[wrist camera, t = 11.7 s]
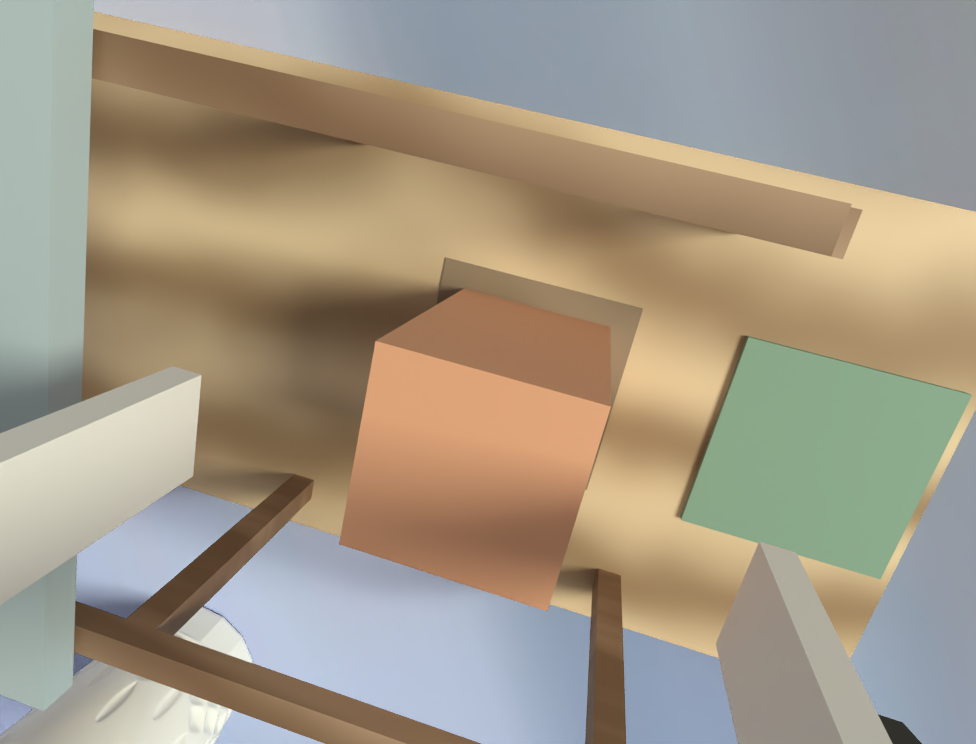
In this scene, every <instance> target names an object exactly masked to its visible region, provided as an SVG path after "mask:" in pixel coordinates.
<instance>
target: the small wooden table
mask: <svg viewBox="0 0 976 744" xmlns="http://www.w3.org/2000/svg"><path fill="white" fill-rule="evenodd" d="M464 288H465V289H469V290H473V291H476V292H480V293H484V294H488V295H491V296H495V297H499V298H503V299H507V300H510V301H514V302H518V303H522V304H525V305H529V306H533V307H537V308H541V309H544V310H548V311H552V312H556V313H559V314H563V315H567V316H571V317H575V318H578V319H582V320H586V321H590V322H593V323H597V324H601V325H605V326H609V327H610V342H611V408H610V412H609V415H608V418H607V421H606V424H605V428H604V431H603V434H602V437H601V441H600V444H599V447H598V450H597V453H596V457H595V460H594V463H593V466H592V470H591V473H590V476H589V479H588V482H587V486H586V489H585V492H584V495H583V499H582V502H581V505H580V508H579V511H578V515H577V518H576V521H575V524H574V527H573V531H572V534H571V537H570V540H569V544H568V547H567V550H566V553H565V556H564V560H563V563H562V566H561V569H560V573H559V576H558V579H557V582H556V585H555V589H554V592H553V595H552V598H551V602H550V604H552V605H555V606H558V607H561V608H564V609H567V610H570V611H573V612H576V613H580V614H583V615H586V616H589V617H591V628H590V650H589V673H588V695H587V718H586V740H585V744H626V725H625V692H624V660H623V628H626V629H630V630H633V631H636V632H639V633H642V634H645V635H648V636H651V637H654V638H658V639H661V640H664V641H667V642H670V643H673V644H676V645H679V646H683V647H686V648H689V649H692V650H695V651H698V652H701V653H704V654H708V655H711V656H714V657H717V658H719V656H718V652H717V647H716V642H717V640H718V637H719V635H720V633H721V630H722V628H723V625H724V623H725V621H726V618H727V616H728V614H729V611H730V609H731V607H732V604H733V602H734V600H735V597H736V595H737V593H738V590H739V588H740V586H741V583H742V581H743V579H744V576H745V574H746V571H747V569H748V567H749V564H750V562H751V560H752V557H753V555H754V553H755V550H756V548H757V546H758V543H756V542H753V541H749V540H746V539H742V538H739V537H736V536H732V535H729V534H726V533H722V532H719V531H716V530H712V529H709V528H705V527H702V526H699V525H695V524H692V523H689V522H685V521H682V520H681V518H680V516H681V513H682V511H683V508H684V505H685V503H686V500H687V497H688V494H689V492H690V489H691V486H692V484H693V481H694V478H695V475H696V473H697V470H698V467H699V465H700V462H701V459H702V456H703V454H704V451H705V448H706V446H707V443H708V440H709V437H710V435H711V432H712V429H713V427H714V424H715V421H716V418H717V416H718V413H719V410H720V408H721V405H722V402H723V399H724V397H725V394H726V391H727V389H728V386H729V383H730V380H731V378H732V375H733V372H734V370H735V367H736V364H737V361H738V359H739V356H740V353H741V351H742V348H743V345H744V342H745V340H746V337H747V336H750V337H754V338H758V339H762V340H766V341H770V342H774V343H777V344H781V345H785V346H789V347H793V348H797V349H801V350H804V351H808V352H812V353H816V354H820V355H824V356H828V357H831V358H835V359H839V360H843V361H847V362H851V363H855V364H858V365H862V366H866V367H870V368H874V369H878V370H881V371H885V372H889V373H893V374H897V375H901V376H905V377H908V378H912V379H916V380H920V381H924V382H928V383H932V384H935V385H939V386H943V387H947V388H951V389H955V390H959V391H962V392H966V393H969V394H971V395H972V397H971V399H970V401H969V403H968V405H967V407H966V409H965V411H964V413H963V415H962V417H961V419H960V421H959V423H958V425H957V427H956V429H955V431H954V433H953V435H952V437H951V439H950V441H949V443H948V445H947V447H946V449H945V451H944V453H943V455H942V457H941V459H940V461H939V463H938V465H937V467H936V469H935V471H934V473H933V475H932V477H931V479H930V481H929V483H928V485H927V487H926V489H925V491H924V493H923V495H922V497H921V499H920V501H919V503H918V505H917V507H916V509H915V511H914V513H913V515H912V517H911V519H910V521H909V523H908V525H907V527H906V529H905V531H904V533H903V535H902V537H901V539H900V541H899V543H898V545H897V547H896V549H895V551H894V553H893V555H892V557H891V559H890V561H889V563H888V565H887V567H886V569H885V571H884V573H883V575H882V577H881V579H877V578H874V577H870V576H867V575H864V574H860V573H857V572H854V571H850V570H847V569H843V568H840V567H837V566H833V565H830V564H827V563H823V562H820V561H817V560H813V559H810V558H806V557H803V556H800V555H798V557H799V559H800V561H801V563H802V565H803V567H804V569H805V571H806V573H807V575H808V577H809V579H810V581H811V583H812V585H813V587H814V589H815V591H816V593H817V595H818V597H819V599H820V601H821V603H822V605H823V607H824V609H825V611H826V613H827V615H828V617H829V619H830V621H831V623H832V625H833V627H834V629H835V631H836V633H837V635H838V637H839V638H840V640H841V642H842V644H843V646H844V648H845V650H846V652H847V654H848V656H849V658H851V656H852V654H853V652H854V650H855V648H856V646H857V644H858V642H859V640H860V638H861V636H862V634H863V632H864V630H865V628H866V626H867V624H868V622H869V620H870V618H871V616H872V614H873V612H874V610H875V608H876V606H877V604H878V602H879V600H880V598H881V596H882V594H883V592H884V590H885V588H886V586H887V584H888V582H889V580H890V578H891V576H892V574H893V572H894V570H895V568H896V566H897V564H898V562H899V560H900V558H901V556H902V554H903V553H904V551H905V549H906V547H907V545H908V543H909V541H910V539H911V537H912V535H913V533H914V531H915V529H916V527H917V525H918V523H919V521H920V519H921V517H922V515H923V513H924V511H925V509H926V507H927V505H928V503H929V501H930V499H931V497H932V495H933V493H934V491H935V489H936V487H937V485H938V483H939V481H940V479H941V477H942V475H943V473H944V471H945V469H946V467H947V465H948V463H949V461H950V459H951V457H952V455H953V453H954V451H955V449H956V447H957V445H958V443H959V441H960V439H961V437H962V435H963V433H964V431H965V429H966V427H967V425H968V423H969V421H970V419H971V417H972V415H973V413H974V411H975V409H976V212H973V211H969V210H965V209H960V208H956V207H951V206H947V205H943V204H938V203H934V202H929V201H925V200H921V199H916V198H912V197H907V196H903V195H899V194H894V193H890V192H885V191H881V190H877V189H872V188H868V187H863V186H859V185H855V184H850V183H846V182H841V181H837V180H833V179H828V178H824V177H819V176H815V175H811V174H806V173H802V172H797V171H793V170H789V169H784V168H780V167H775V166H771V165H767V164H762V163H758V162H753V161H749V160H745V159H740V158H736V157H731V156H727V155H723V154H718V153H714V152H709V151H705V150H700V149H696V148H692V147H687V146H683V145H678V144H674V143H670V142H665V141H661V140H656V139H652V138H648V137H643V136H639V135H634V134H630V133H626V132H621V131H617V130H612V129H608V128H604V127H599V126H595V125H590V124H586V123H582V122H577V121H573V120H568V119H564V118H560V117H555V116H551V115H546V114H542V113H538V112H533V111H529V110H524V109H520V108H516V107H511V106H507V105H502V104H498V103H494V102H489V101H485V100H480V99H476V98H472V97H467V96H463V95H458V94H454V93H450V92H445V91H441V90H436V89H432V88H428V87H423V86H419V85H414V84H410V83H406V82H401V81H397V80H392V79H388V78H384V77H379V76H375V75H370V74H366V73H362V72H357V71H353V70H348V69H344V68H340V67H335V66H331V65H326V64H322V63H318V62H313V61H309V60H304V59H300V58H296V57H291V56H287V55H282V54H278V53H274V52H269V51H265V50H260V49H256V48H252V47H247V46H243V45H238V44H234V43H230V42H225V41H221V40H216V39H212V38H208V37H203V36H199V35H194V34H190V33H186V32H181V31H177V30H172V29H168V28H164V27H159V26H155V25H150V24H146V23H142V22H137V21H133V20H128V19H124V18H120V17H115V16H111V15H106V14H102V13H98V12H94V18H93V50H92V82H91V115H90V147H89V179H88V211H87V243H86V275H85V307H84V340H83V372H82V401H85V400H87V399H90V398H92V397H95V396H97V395H100V394H103V393H105V392H108V391H110V390H113V389H115V388H118V387H120V386H123V385H126V384H128V383H131V382H133V381H136V380H138V379H141V378H144V377H146V376H149V375H151V374H154V373H156V372H159V371H161V370H164V369H167V368H169V367H172V366H174V367H177V368H180V369H184V370H187V371H190V372H194V373H197V374H200V375H201V387H200V399H199V411H198V423H197V435H196V447H195V459H194V471H193V477H191V478H190V479H188V480H187V481H185V482H184V483H182V484H181V485H180V486H183V487H187V488H190V489H193V490H196V491H199V492H202V493H205V494H208V495H211V496H215V497H218V498H221V499H224V500H227V501H230V502H233V503H236V504H240V505H243V506H246V507H249V508H252V509H253V510H252V511H251V512H250V513H248V514H247V515H246V516H245V517H244V518H243V519H241V520H240V521H239V522H238V523H237V524H236V525H234V526H233V527H232V528H231V529H230V530H229V531H227V532H226V533H225V534H224V535H223V536H222V537H220V538H219V539H218V540H217V541H216V542H215V543H214V544H212V545H211V546H210V547H209V548H208V549H207V550H205V551H204V552H203V553H202V554H201V555H200V556H198V557H197V558H196V559H195V560H194V561H193V562H191V563H190V564H189V565H188V566H187V567H186V568H184V569H183V570H182V571H181V572H180V573H179V574H177V575H176V576H175V577H174V578H173V579H172V580H171V581H169V582H168V583H167V584H166V585H165V586H164V587H162V588H161V589H160V590H159V591H158V592H157V593H155V594H154V595H153V596H152V597H151V598H150V599H148V600H147V601H146V602H145V603H144V604H143V605H141V606H140V607H139V608H138V609H137V610H136V611H135V612H133V613H132V614H131V615H130V616H129V617H128V618H126V619H125V618H122V617H119V616H117V615H114V614H111V613H108V612H105V611H102V610H99V609H97V608H94V607H91V606H88V605H85V604H82V603H80V602H77V601H75V629H74V653H77V654H80V655H83V656H85V657H88V658H91V659H94V660H96V661H99V662H102V663H105V664H107V665H110V666H113V667H116V668H118V669H121V670H124V671H127V672H129V673H132V674H135V675H138V676H141V677H143V678H146V679H149V680H152V681H154V682H157V683H160V684H163V685H165V686H168V687H171V688H174V689H176V690H179V691H182V692H185V693H187V694H190V695H193V696H196V697H198V698H201V699H204V700H207V701H209V702H212V703H215V704H218V705H220V706H223V707H226V708H229V709H231V710H234V711H237V712H240V713H243V714H245V715H248V716H251V717H254V718H256V719H259V720H262V721H265V722H267V723H270V724H273V725H276V726H278V727H281V728H284V729H287V730H289V731H292V732H295V733H298V734H300V735H303V736H306V737H309V738H311V739H314V740H317V741H320V742H322V743H325V744H480V743H477V742H475V741H472V740H469V739H466V738H463V737H460V736H458V735H455V734H452V733H449V732H446V731H443V730H441V729H438V728H435V727H432V726H429V725H426V724H423V723H421V722H418V721H415V720H412V719H409V718H406V717H404V716H401V715H398V714H395V713H392V712H389V711H387V710H384V709H381V708H378V707H375V706H372V705H369V704H367V703H364V702H361V701H358V700H355V699H352V698H350V697H347V696H344V695H341V694H338V693H335V692H333V691H330V690H327V689H324V688H321V687H318V686H315V685H313V684H310V683H307V682H304V681H301V680H298V679H296V678H293V677H290V676H287V675H284V674H281V673H279V672H276V671H273V670H270V669H267V668H264V667H261V666H259V665H256V664H253V663H250V662H247V661H244V660H242V659H239V658H236V657H233V656H230V655H227V654H225V653H222V652H219V651H216V650H213V649H210V648H207V647H205V646H202V645H199V644H196V643H193V642H190V641H188V640H185V639H182V638H179V637H176V636H173V635H175V634H176V633H177V632H178V631H179V630H180V629H181V628H182V627H183V626H184V625H185V624H186V623H187V622H188V621H189V620H190V619H191V618H192V617H193V616H194V615H195V614H196V613H197V612H198V611H199V610H200V609H201V608H202V607H203V606H204V605H205V604H206V603H207V602H208V601H209V600H210V599H211V598H212V597H213V596H214V595H215V594H216V593H217V592H218V591H219V590H220V589H221V588H222V587H223V586H224V585H225V584H226V583H227V582H228V581H229V580H230V579H231V578H232V577H233V576H234V575H235V574H236V573H237V572H238V571H239V570H240V569H241V568H242V567H243V566H244V565H245V564H246V563H247V562H248V561H249V560H250V559H251V558H252V557H253V556H254V555H255V554H256V553H257V552H258V551H259V550H260V549H261V548H262V547H263V546H264V545H265V544H266V543H267V542H268V541H269V540H270V539H271V538H272V537H273V536H274V535H275V534H276V533H277V532H278V531H279V530H280V529H281V528H282V527H283V526H284V525H285V524H286V523H287V522H288V521H293V522H296V523H299V524H302V525H305V526H308V527H311V528H314V529H318V530H321V531H324V532H327V533H330V534H333V535H336V536H339V537H340V536H341V530H342V525H343V519H344V514H345V508H346V503H347V497H348V491H349V486H350V480H351V475H352V469H353V464H354V458H355V453H356V447H357V441H358V436H359V430H360V425H361V419H362V414H363V408H364V403H365V397H366V391H367V386H368V380H369V375H370V369H371V364H372V358H373V353H374V347H375V341H376V340H378V339H380V338H381V337H383V336H385V335H386V334H388V333H390V332H392V331H393V330H395V329H397V328H398V327H400V326H402V325H403V324H405V323H407V322H408V321H410V320H412V319H414V318H415V317H417V316H419V315H420V314H422V313H424V312H425V311H427V310H429V309H430V308H432V307H434V306H435V305H437V304H439V303H441V302H442V301H444V300H446V299H447V298H449V297H451V296H452V295H454V294H456V293H457V292H459V291H461V290H463V289H464Z"/></svg>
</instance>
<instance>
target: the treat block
mask: <svg viewBox="0 0 976 744" xmlns="http://www.w3.org/2000/svg"><path fill="white" fill-rule="evenodd" d="M610 408H611V342H610V327H609V326H605V325H601V324H597V323H593V322H590V321H586V320H582V319H578V318H575V317H571V316H567V315H563V314H559V313H556V312H552V311H548V310H544V309H541V308H537V307H533V306H529V305H525V304H522V303H518V302H514V301H510V300H507V299H503V298H499V297H495V296H491V295H488V294H484V293H480V292H476V291H473V290H469V289H465V288H464V289H463V290H461V291H459V292H457V293H456V294H454V295H452V296H451V297H449V298H447V299H446V300H444V301H442V302H441V303H439V304H437V305H435V306H434V307H432V308H430V309H429V310H427V311H425V312H424V313H422V314H420V315H419V316H417V317H415V318H414V319H412V320H410V321H408V322H407V323H405V324H403V325H402V326H400V327H398V328H397V329H395V330H393V331H392V332H390V333H388V334H386V335H385V336H383V337H381V338H380V339H378V340H376V341H375V347H374V353H373V358H372V364H371V369H370V375H369V380H368V386H367V391H366V397H365V403H364V408H363V414H362V419H361V425H360V430H359V436H358V441H357V447H356V453H355V458H354V464H353V469H352V475H351V480H350V486H349V491H348V497H347V503H346V508H345V514H344V519H343V525H342V530H341V536H340V541H339V544H340V545H343V546H347V547H350V548H353V549H356V550H359V551H362V552H365V553H368V554H371V555H375V556H378V557H381V558H384V559H387V560H390V561H393V562H396V563H399V564H402V565H406V566H409V567H412V568H415V569H418V570H421V571H424V572H427V573H430V574H434V575H437V576H440V577H443V578H446V579H449V580H452V581H455V582H458V583H461V584H465V585H468V586H471V587H474V588H477V589H480V590H483V591H486V592H489V593H493V594H496V595H499V596H502V597H505V598H508V599H511V600H514V601H517V602H520V603H524V604H527V605H530V606H533V607H536V608H539V609H542V610H545V611H548V608H549V605H550V602H551V598H552V595H553V592H554V589H555V585H556V582H557V579H558V576H559V573H560V569H561V566H562V563H563V560H564V556H565V553H566V550H567V547H568V544H569V540H570V537H571V534H572V531H573V527H574V524H575V521H576V518H577V515H578V511H579V508H580V505H581V502H582V499H583V495H584V492H585V489H586V486H587V482H588V479H589V476H590V473H591V470H592V466H593V463H594V460H595V457H596V453H597V450H598V447H599V444H600V441H601V437H602V434H603V431H604V428H605V424H606V421H607V418H608V415H609V412H610Z"/></svg>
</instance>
